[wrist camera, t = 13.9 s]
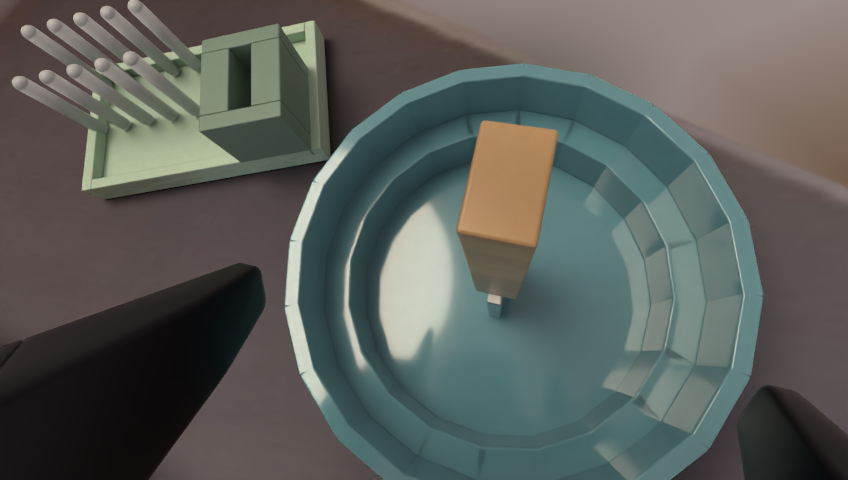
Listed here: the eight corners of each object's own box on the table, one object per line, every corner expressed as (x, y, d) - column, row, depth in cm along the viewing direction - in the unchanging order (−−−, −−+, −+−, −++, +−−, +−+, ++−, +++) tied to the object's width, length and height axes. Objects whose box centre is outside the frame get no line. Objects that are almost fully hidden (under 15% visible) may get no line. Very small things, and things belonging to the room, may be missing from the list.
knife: (509, 320, 19) (534, 265, 7) (479, 313, 20) (451, 248, 7) (521, 261, 20) (563, 113, 8) (491, 255, 20) (484, 103, 8)
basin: (559, 566, 17) (587, 660, 12) (274, 329, 22) (203, 322, 16) (756, 240, 19) (855, 198, 14) (456, 82, 23) (445, 5, 18)
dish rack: (331, 160, 24) (279, 99, 18) (104, 200, 25) (-9, 156, 20) (324, 38, 26) (276, -50, 20) (115, 83, 27) (17, 13, 22)
